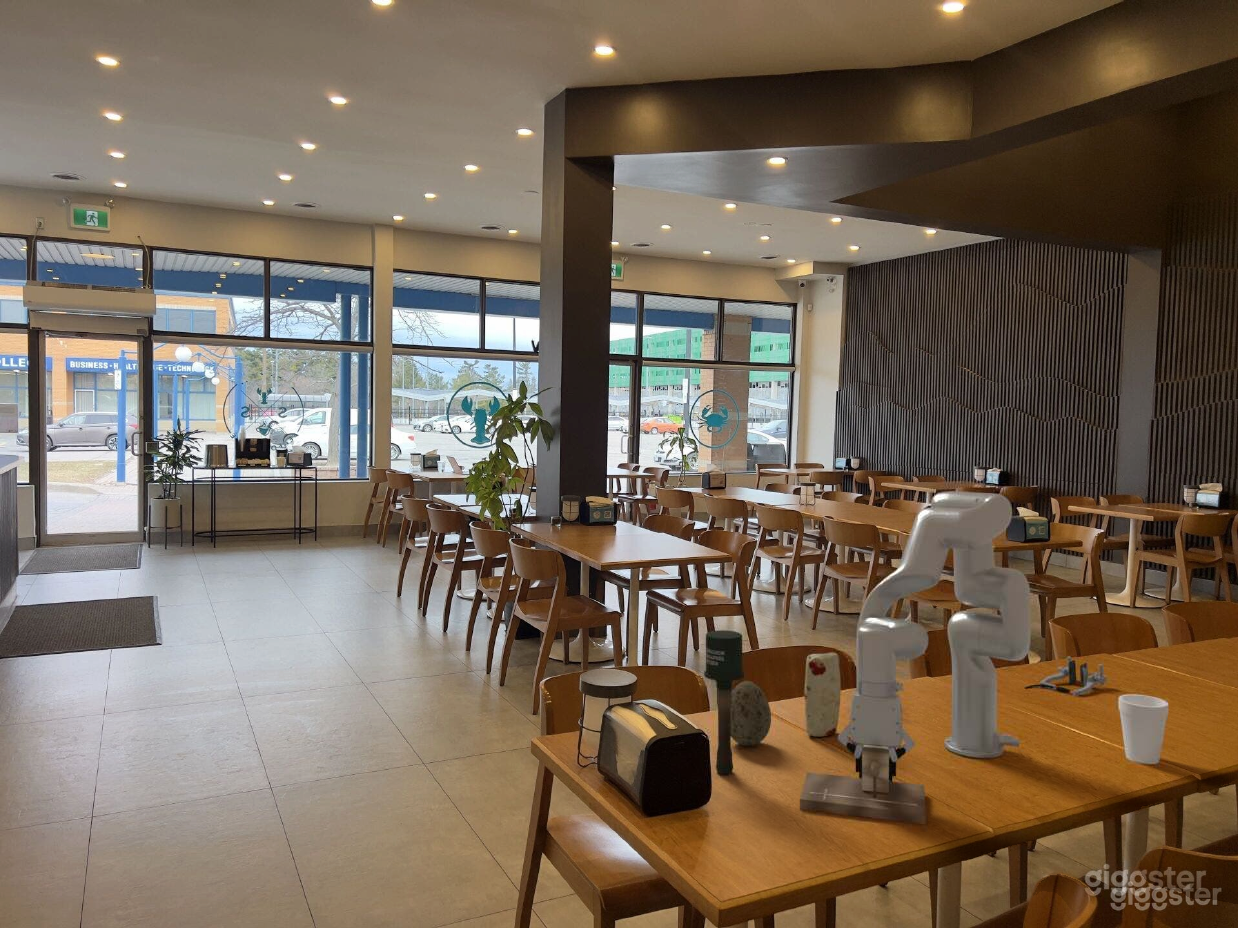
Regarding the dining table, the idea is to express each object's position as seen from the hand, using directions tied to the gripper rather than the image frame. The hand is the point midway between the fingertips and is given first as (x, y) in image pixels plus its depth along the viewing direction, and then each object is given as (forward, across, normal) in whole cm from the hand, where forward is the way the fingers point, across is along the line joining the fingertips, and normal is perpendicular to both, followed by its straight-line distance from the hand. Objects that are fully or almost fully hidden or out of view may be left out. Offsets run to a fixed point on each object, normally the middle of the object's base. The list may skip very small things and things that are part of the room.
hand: (875, 776), depth 175 cm
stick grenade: (+4, +31, -4) cm, 32 cm away
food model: (+4, +13, -33) cm, 36 cm away
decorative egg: (+4, +29, -22) cm, 36 cm away
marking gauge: (+3, 0, +2) cm, 4 cm away
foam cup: (+4, -56, -37) cm, 67 cm away
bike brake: (+4, -50, -91) cm, 104 cm away
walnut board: (+4, +2, +4) cm, 6 cm away
